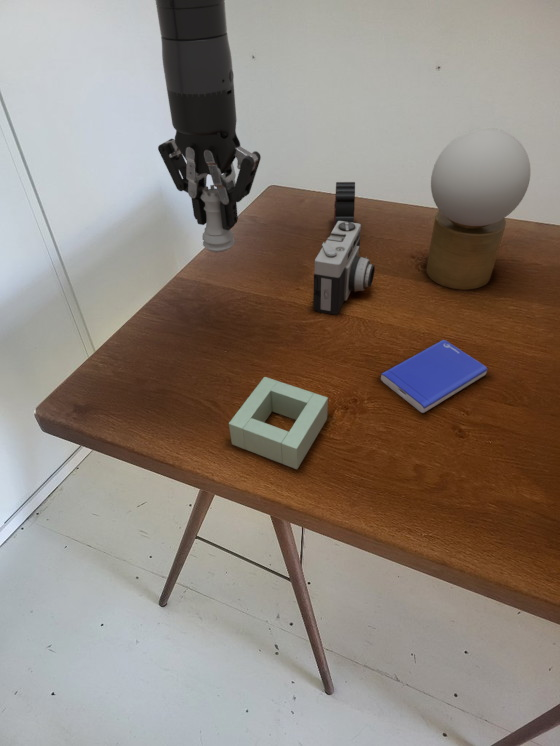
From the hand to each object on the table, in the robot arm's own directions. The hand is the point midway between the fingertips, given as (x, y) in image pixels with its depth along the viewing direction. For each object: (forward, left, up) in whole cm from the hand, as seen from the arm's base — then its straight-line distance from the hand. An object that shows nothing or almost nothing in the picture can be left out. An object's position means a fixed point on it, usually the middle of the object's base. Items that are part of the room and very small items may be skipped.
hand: (216, 224), depth 70 cm
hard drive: (+31, +3, -19) cm, 37 cm away
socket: (+16, -15, -19) cm, 29 cm away
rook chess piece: (0, 0, -3) cm, 3 cm away
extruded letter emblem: (+4, +36, -19) cm, 41 cm away
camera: (+12, +18, -19) cm, 29 cm away
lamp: (+28, +30, -19) cm, 46 cm away
